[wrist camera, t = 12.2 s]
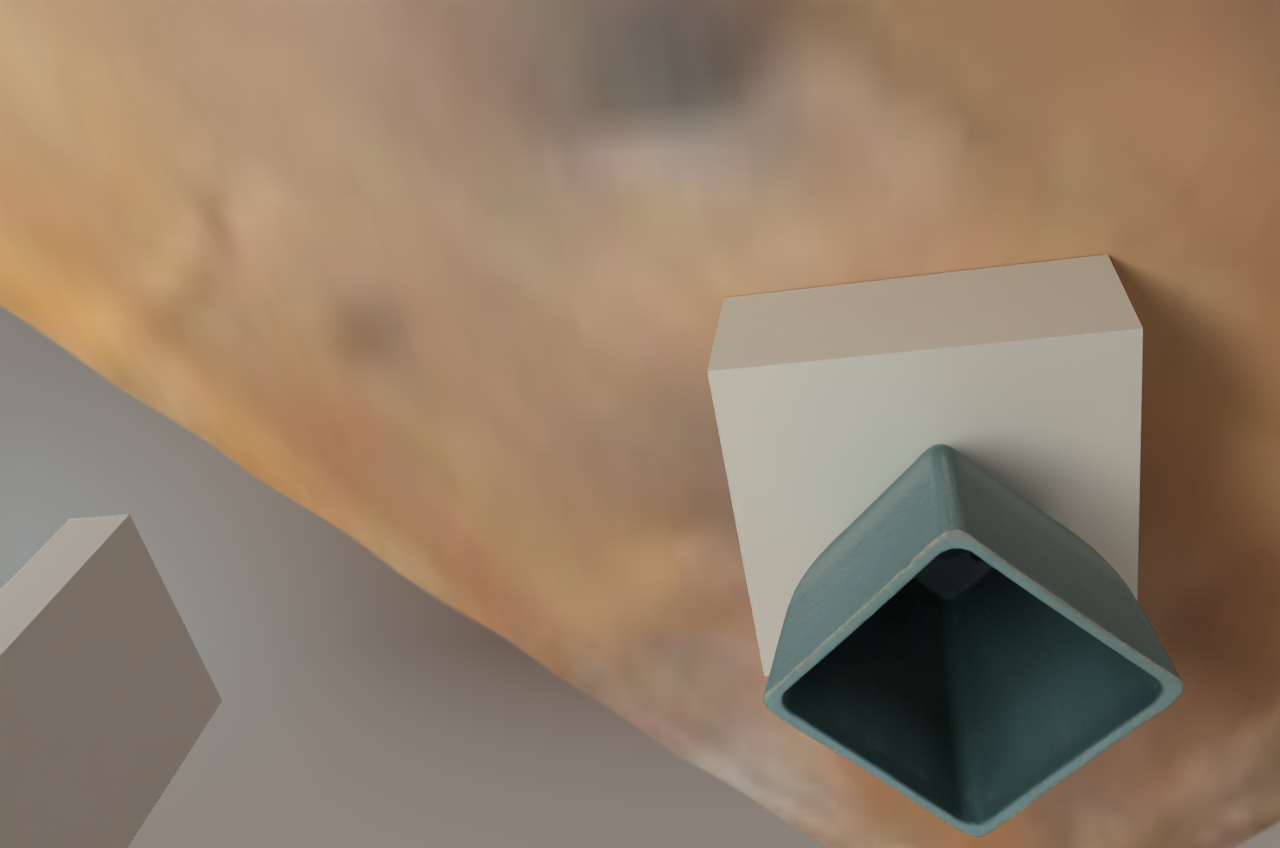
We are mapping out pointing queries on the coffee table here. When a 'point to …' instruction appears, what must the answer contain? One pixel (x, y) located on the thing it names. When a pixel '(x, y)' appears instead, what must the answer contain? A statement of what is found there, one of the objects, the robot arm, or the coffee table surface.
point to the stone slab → (927, 406)
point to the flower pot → (965, 647)
